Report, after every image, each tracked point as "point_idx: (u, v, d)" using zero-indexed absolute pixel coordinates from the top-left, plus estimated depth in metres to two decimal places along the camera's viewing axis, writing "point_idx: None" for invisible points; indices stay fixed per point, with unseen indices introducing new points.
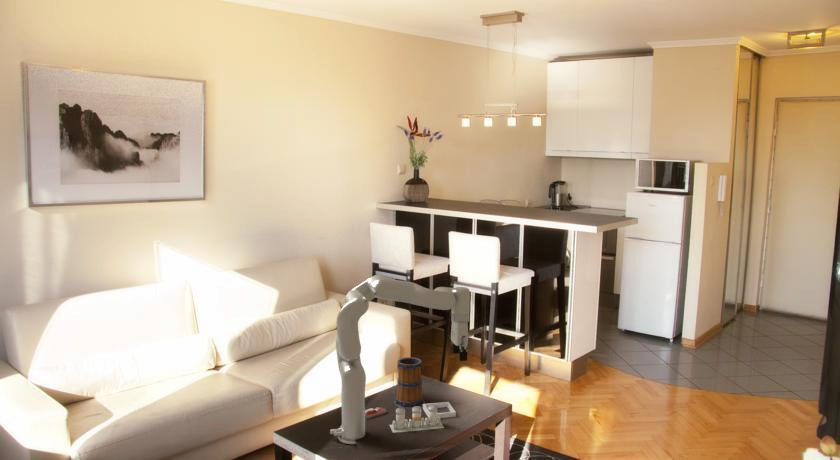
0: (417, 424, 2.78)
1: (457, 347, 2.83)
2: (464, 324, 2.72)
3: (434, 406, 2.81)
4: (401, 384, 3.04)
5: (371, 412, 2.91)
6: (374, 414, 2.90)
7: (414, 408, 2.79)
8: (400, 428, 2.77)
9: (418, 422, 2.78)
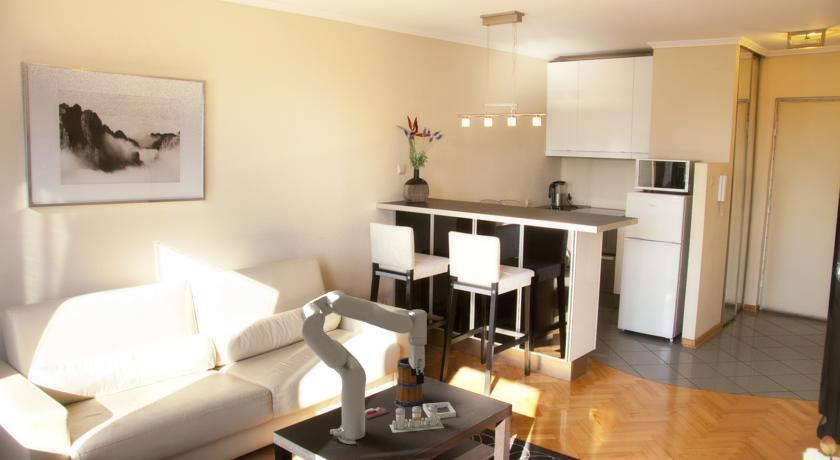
0: (417, 424, 2.78)
1: (415, 369, 2.82)
2: (421, 347, 2.71)
3: (434, 406, 2.81)
4: (401, 384, 3.04)
5: (371, 412, 2.91)
6: (374, 414, 2.90)
7: (414, 408, 2.79)
8: (400, 428, 2.77)
9: (418, 422, 2.78)
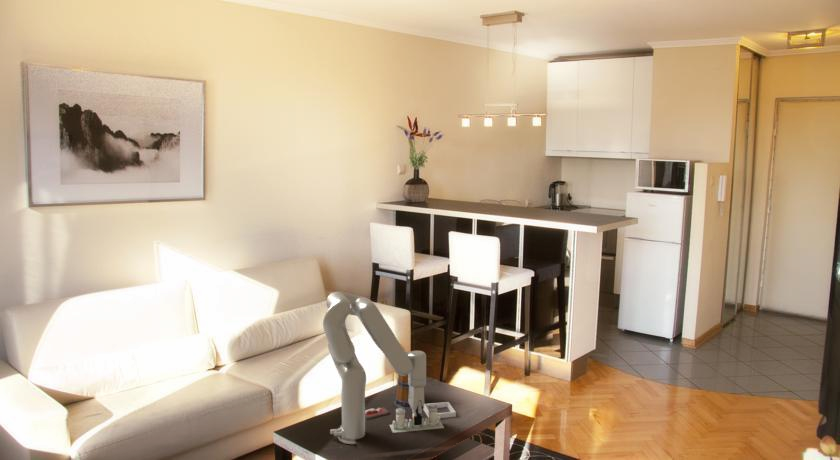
0: None
1: None
2: (420, 389, 2.74)
3: (434, 406, 2.81)
4: (401, 384, 3.04)
5: (372, 412, 2.91)
6: (374, 414, 2.89)
7: None
8: (400, 428, 2.77)
9: None
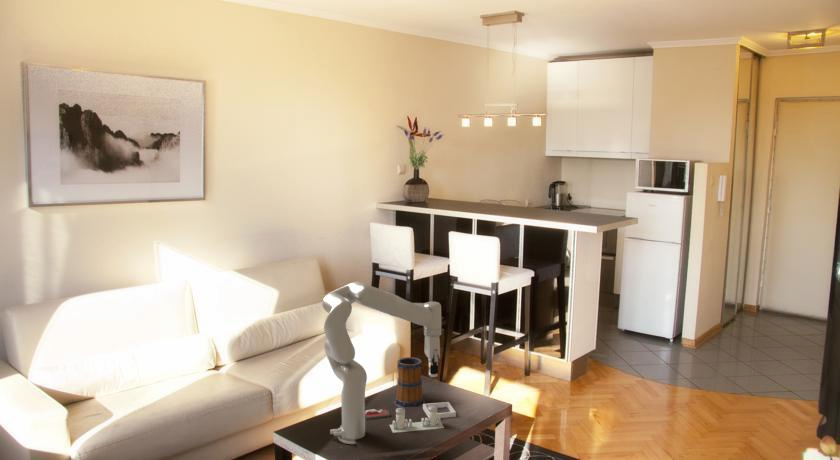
0: None
1: None
2: (436, 338, 2.81)
3: (434, 406, 2.81)
4: (401, 384, 3.04)
5: (373, 413, 2.90)
6: (374, 415, 2.88)
7: None
8: (400, 428, 2.77)
9: None
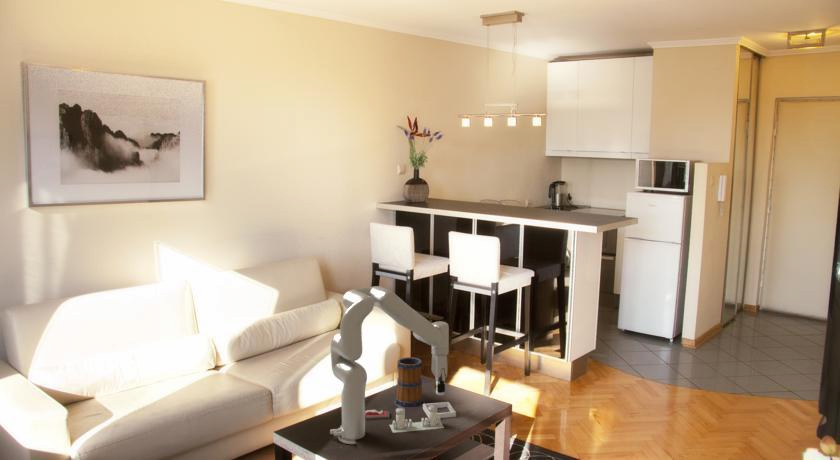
0: None
1: None
2: (443, 357, 2.87)
3: (434, 406, 2.81)
4: (401, 384, 3.04)
5: (373, 413, 2.90)
6: (373, 416, 2.87)
7: None
8: (400, 428, 2.77)
9: None
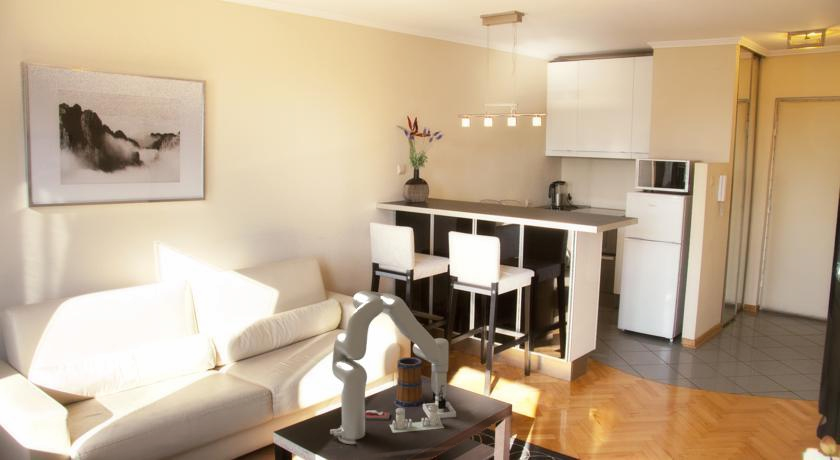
0: (440, 411, 2.93)
1: None
2: (443, 374, 2.88)
3: (434, 406, 2.81)
4: (401, 384, 3.04)
5: (373, 414, 2.89)
6: (372, 417, 2.87)
7: (437, 396, 2.93)
8: (400, 428, 2.77)
9: (441, 409, 2.93)
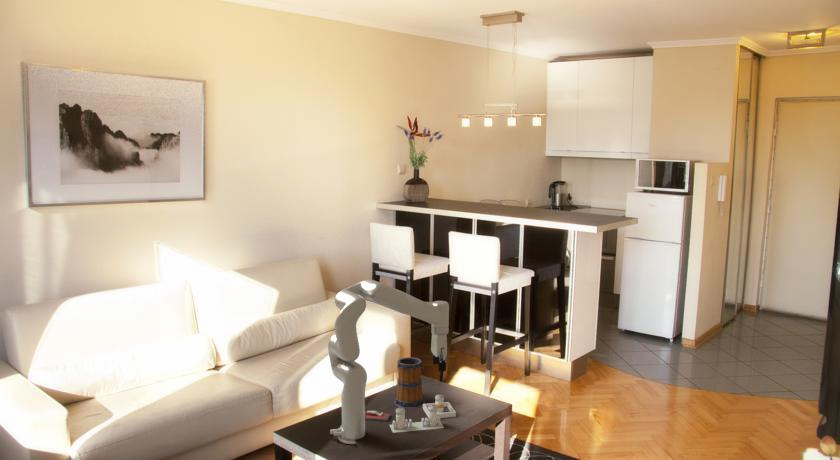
0: (440, 411, 2.93)
1: (437, 358, 2.96)
2: (443, 336, 2.86)
3: (434, 406, 2.81)
4: (401, 384, 3.04)
5: (373, 415, 2.88)
6: (372, 417, 2.86)
7: (437, 396, 2.93)
8: (400, 428, 2.77)
9: (441, 409, 2.93)
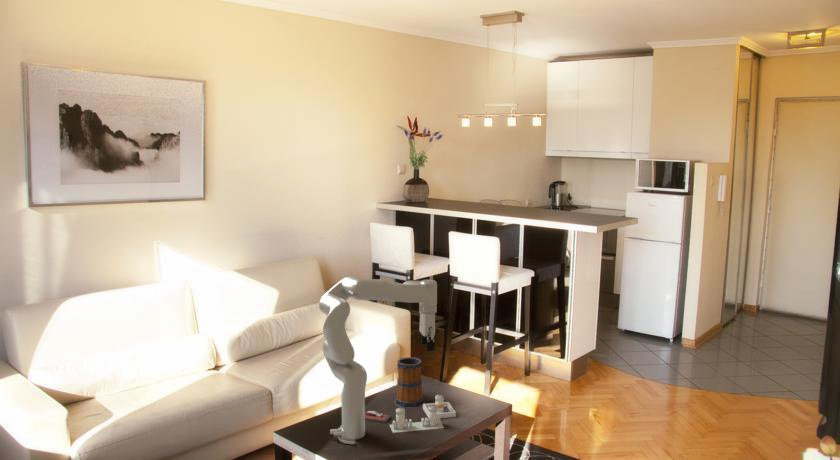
0: (440, 411, 2.93)
1: (425, 338, 2.91)
2: (431, 315, 2.81)
3: (434, 406, 2.81)
4: (401, 384, 3.04)
5: (372, 415, 2.88)
6: (371, 417, 2.86)
7: (437, 396, 2.93)
8: (400, 428, 2.77)
9: (441, 409, 2.93)
